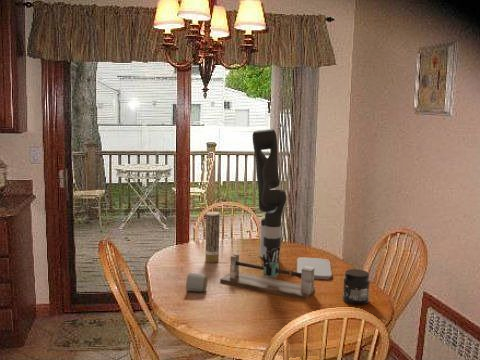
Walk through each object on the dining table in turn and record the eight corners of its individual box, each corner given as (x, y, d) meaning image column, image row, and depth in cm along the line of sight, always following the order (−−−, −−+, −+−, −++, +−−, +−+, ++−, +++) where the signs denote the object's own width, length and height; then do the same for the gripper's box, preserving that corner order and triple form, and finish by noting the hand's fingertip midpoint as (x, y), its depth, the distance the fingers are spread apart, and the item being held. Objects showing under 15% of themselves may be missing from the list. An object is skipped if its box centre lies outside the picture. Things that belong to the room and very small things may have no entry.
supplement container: (346, 293, 196) (348, 266, 194) (371, 299, 190) (373, 271, 189) (338, 302, 187) (340, 273, 185) (364, 308, 181) (366, 279, 180)
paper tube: (202, 261, 233) (203, 213, 229) (209, 258, 239) (210, 211, 235) (214, 263, 230) (215, 215, 226) (221, 260, 236) (222, 212, 232)
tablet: (328, 263, 237) (329, 259, 237) (332, 281, 211) (332, 276, 211) (297, 261, 239) (297, 256, 239) (296, 278, 213) (296, 273, 213)
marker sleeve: (267, 272, 203) (268, 260, 202) (278, 274, 201) (278, 262, 200) (263, 275, 199) (263, 263, 198) (274, 277, 197) (274, 265, 196)
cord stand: (232, 274, 216) (233, 250, 214) (315, 290, 198) (317, 265, 196) (220, 282, 205) (220, 257, 203) (306, 300, 187) (308, 273, 186)
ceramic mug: (205, 294, 191) (205, 276, 190) (185, 293, 191) (185, 275, 190) (208, 285, 201) (209, 268, 200) (190, 284, 202) (190, 267, 201)
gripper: (270, 230, 205) (269, 267, 208) (257, 238, 193) (256, 276, 195) (286, 233, 202) (284, 270, 205) (274, 240, 189) (272, 280, 192)
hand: (270, 273), depth 200 cm, fingers closed on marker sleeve, 4 cm apart
